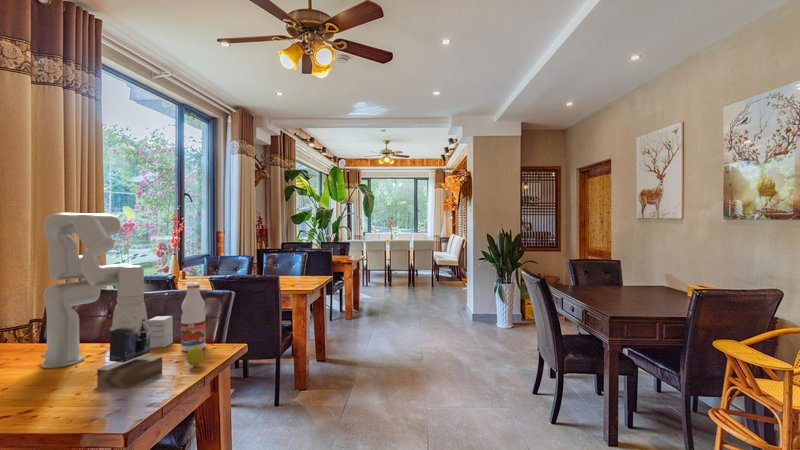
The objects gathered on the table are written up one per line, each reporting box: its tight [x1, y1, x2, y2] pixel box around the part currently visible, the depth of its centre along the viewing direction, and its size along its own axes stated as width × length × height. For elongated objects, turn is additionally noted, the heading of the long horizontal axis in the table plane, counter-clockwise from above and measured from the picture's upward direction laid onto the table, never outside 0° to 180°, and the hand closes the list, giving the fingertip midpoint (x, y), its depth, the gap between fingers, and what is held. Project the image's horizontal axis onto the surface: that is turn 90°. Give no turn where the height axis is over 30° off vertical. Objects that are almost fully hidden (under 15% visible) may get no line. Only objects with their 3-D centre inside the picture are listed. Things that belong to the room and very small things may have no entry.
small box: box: [108, 325, 151, 363], centre depth 129 cm, size 11×6×10 cm, turn 169°
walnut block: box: [96, 355, 163, 390], centre depth 129 cm, size 12×14×6 cm
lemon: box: [186, 346, 204, 368], centre depth 140 cm, size 6×6×8 cm
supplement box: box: [147, 315, 174, 349], centre depth 166 cm, size 7×7×13 cm
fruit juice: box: [180, 283, 206, 352], centre depth 162 cm, size 9×9×28 cm
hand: (130, 350), depth 129 cm, fingers closed on small box, 6 cm apart
